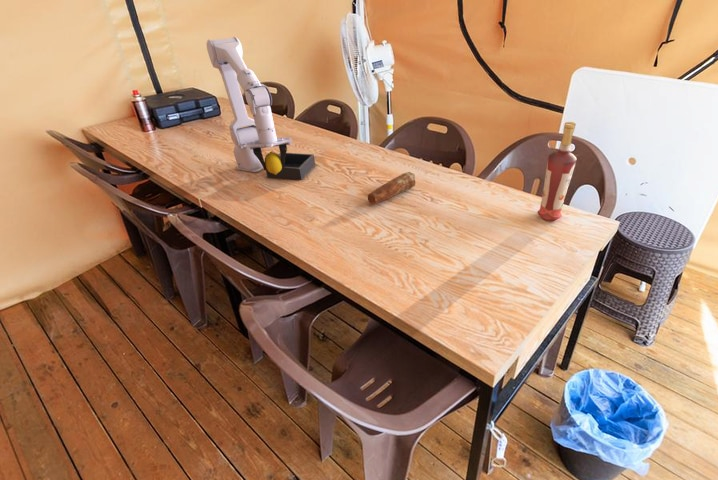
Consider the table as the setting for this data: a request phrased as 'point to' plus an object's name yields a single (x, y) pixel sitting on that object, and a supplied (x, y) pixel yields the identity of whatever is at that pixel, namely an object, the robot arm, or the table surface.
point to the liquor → (558, 177)
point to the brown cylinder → (392, 188)
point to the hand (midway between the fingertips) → (274, 167)
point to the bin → (294, 166)
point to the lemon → (273, 163)
